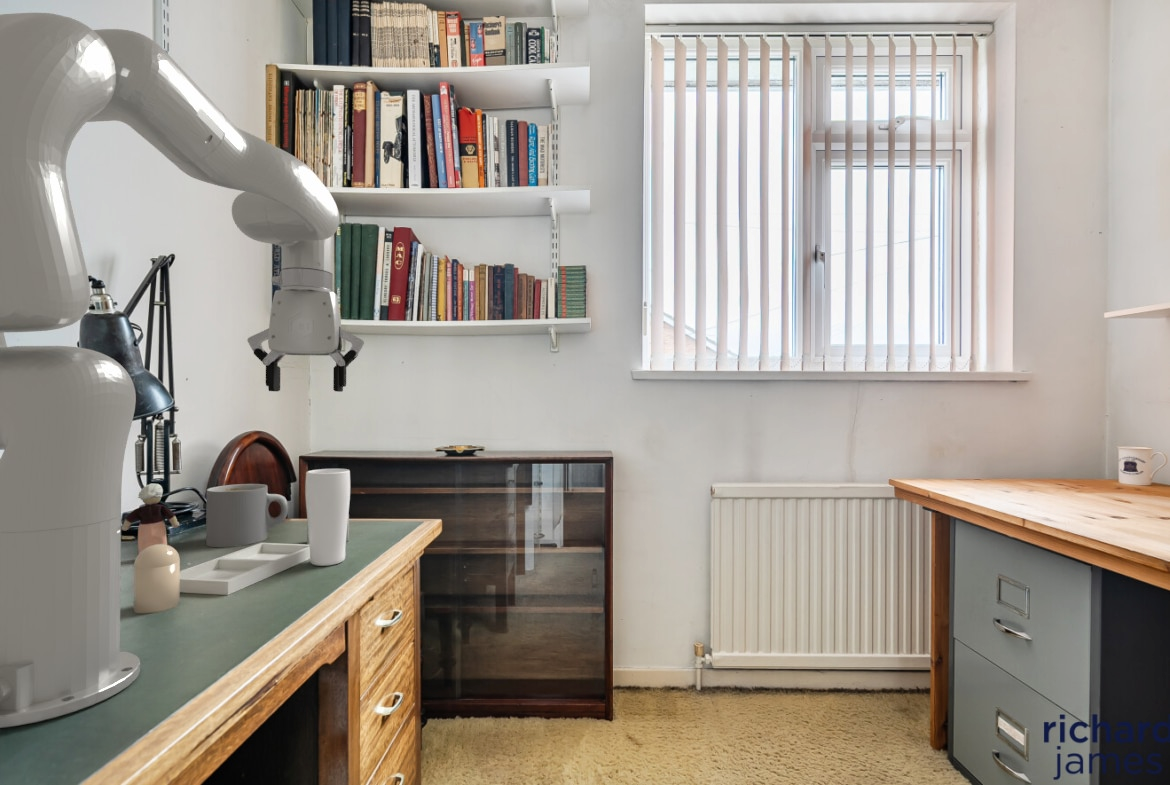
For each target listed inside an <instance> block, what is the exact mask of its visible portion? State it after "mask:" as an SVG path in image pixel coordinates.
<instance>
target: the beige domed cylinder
mask: <svg viewBox="0 0 1170 785" xmlns="http://www.w3.org/2000/svg"><path fill="white" fill-rule="evenodd" d="M180 558H181V557H180V554H179V552H178V550H177V549H175V548H174V547H173V546H171V545H169V544H167V545H165V544H156V545H152V546H149V547H147V548H145V549H144V550H143V551H141V552H140V553H139V552H138V555H136V558H135V560H134V563H133V612H134V613H136V614H153V613H158V612H164V611H167V610H170V609H174V608H177V606H179V605H180V603H181V602H180V597H181V596H180V593H181V592H180V571H181V559H180Z"/></svg>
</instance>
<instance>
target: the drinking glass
mask: <svg viewBox="0 0 1170 785" xmlns="http://www.w3.org/2000/svg"><path fill="white" fill-rule="evenodd" d="M304 484H305V487H304V488H305V491H304V493H305V494H304V495H305V508H306V520H307V521H308V533H309V544H308V545H310V559H309V563H310V564H312V565H313V566H317V567H323V566H324V567H327V566H329V567H330V566H335V565H337V564H340V563H342V562H344V561H345V559H346V546H347V545H346V544H347V542H346V535H347V524H348V514H349V512H350V501H351V471H350V469H347V468H321V469H320V468H319V469H312V470H308V471H306V472H305V483H304ZM349 515H350V514H349ZM307 521H306V522H307Z"/></svg>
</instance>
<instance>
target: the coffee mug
mask: <svg viewBox="0 0 1170 785" xmlns="http://www.w3.org/2000/svg"><path fill="white" fill-rule="evenodd" d="M268 488H269V487H268V485H267V484H263V483H262V484H261V483H240V484H239V483H238V484H228V485H225V484H224V485H219V486H213V487H209V488H207V489H206V501H205V502H206V515H205V519H206V520H205V521H206V524H205V525H206V528H205V530H206V531H205V532H206V533H205V534H206V535H205V544H206V546H208V547H213V548H214V547H215V548H232V547H240V546H241V547H242V546H249V545H255V544H259V543H262V542H263V541H266V540H267V539H268V533H269V531H270V529H271V528H273V527H275V526H278V525H280V524H282V523H283V522H284V521H285V520H286V518H287V515H288V513H289V512H288V511H289V503H288V500H287V499H286V497H285V496H283V495H281V494H277V493H268ZM272 502H277V503H278V504H279V506H280V513H279V514H278V516H276V517H273V516H271V515H270V512H269V508H270V504H272Z"/></svg>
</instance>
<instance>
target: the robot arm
mask: <svg viewBox="0 0 1170 785" xmlns="http://www.w3.org/2000/svg"><path fill="white" fill-rule="evenodd" d="M110 121H111V122H112V121H114V122H115V121H117V122H121V123H124V124H126V125H127V126H129V127H130V128H131V129H132V130H134V132H136V133H137V134H138V135H140V136H141V137H142V138H144V140H146V141H147V142H148V143H149V144H150V145H151V146H153V147H154V148H155V149H156V150H158V152H160V153H161V154H162V155H163V156H164V157H165V158H166V159H168V160H169V161H170V162H171V163H172V164H173V165H174V166H176V167H177V168H178V170H180V171H182V172H183V173H184V174H186V175H187V176H189V177H191V178H192V179H195V180H198V181H201V182H204V183H206V184H207V183H208V184H211V185H215V186H218V187H222V188H226V189H229V190H230V189H231V190H236V191H242V192H241V193H239V194H238V195H237V196H235V198H234V200H233V202H232V205H231V216H232V219H233V222H234V224H235V225H236V226H237V229H239V231H240V232H241V233H242V234H244V235H245V236H247V237H248V238H250V239H252V240H254V241H257V242H260V243H265V244H271V245H276V246H280V248H281V263H280V264H281V269H280V270H281V271H279V275H277V276H271V283H272V285H273V286H278V287H279V288H280V289H277V290H275V291H274V293H273V294H274V295H273V299H272V303H271V309H270V316H269V324H268V327H269V328H268V327H267V329H264V330H261V331H260V332H258V333H256V334H253V335H251V336H249V337H248V338H247V340H246V341H247V343H248V345H249V346H250V348H251V350H252V351H253V355H254V356H255V357H256V358H257V359H258V360H259V361H260V362H261V363H262V364H263V365H264V366H265V385H266V387H268V391H269V392H279V391H280V392H281V367H280V366H279V365H278V364H279V363H280V361H281V360H282V359H284V357H285V356H330V358H332V360H333V361H334V362H335V365H334V367H333V382H332V383H333V387H332V388H333V391H334V392H343V391H344V387H346V386H347V368H348V367H349V365H350V364H351V363H352V362H354V360H356V358H358V356H359V353H360V352H361V351H362V350H361V349H363V346H364V345H365V341H364V340H363V339H361V338H360V337H357V336H355V335H353V334H352V333H349V331H346V330H344V329H343V328H342V318H341V310H340V304H339V303H340V302H339V299H338V295H337V294H336V293H335V292H334V290H333V289H334V234H336V232H337V230H338V229H339V225H340V212H339V209H338V206H337V203H336V201H335V199H334V197H333V196H332V194H331V192H330V191H329V189H328V188H327V187H326V185H325V184H324V183H323V181H322V180H321V179H320V177H318V176H317V174H316V173H315V172H314V171H313V169H312V168H311V167H309V166H308V165H306V163H305V162H303V161H302V160H300V159H299V158H298V157H296V156H294V155H293V154H291V153H289V152H287V151H285V150H284V149H282V148H279V147H277V146H275V145H274V144H272V143H270V142H268V141H266V140H265V139H262V138H261V137H258V136H256V135H254V134H252V133H249V132H247V131H245V130H243V129H241V128H239V127H238V126H236V125H234V123H233V122H232V121H231V120H230V119H229V118H228V117H227V116H226V115H225V114H224V112H223V111H221V110H220V108H219V107H218V106H217V105H216V104H215V103H214V102H213V101H212V100H211V98H210V97H208V95H207V94H206V93H205V92H204V91H203V90H202V89H201V88H200V87H199V86H198V85H197V83H196V82H195V81H194V80H193V79H192V78H191V77H190V76H189V75H188V74H187V73H186V71H184V70H183V69H182V67H181V66H180V65H179V64H178V63H177V62H176V61H175V59H173V57H172V56H170V54H168V52H167V51H166V50H165V49H164V48H163V47H161V45H160V44H158V43H157V42H156V41H154V40H153V39H152V38H150V37H148V36H146V35H144V34H142V33H140V32H137V31H133V30H128V29H119V28H105V29H103V28H102V29H92V28H91V27H89V26H88V25H87V24H84V22H81V21H79V20H77V19H75V18H72V17H68V16H64V15H60V14H57V13H56V14H55V13H50V12H21V13H20V12H19V13H15V12H14V13H4V14H3V13H1V14H0V450H3V453H2V455H1V457H0V729H2V728H3V729H4V728H11V727H19V726H23V725H28V724H33V723H34V724H35V723H39V722H43V721H47V720H51V719H55V718H58V717H61V716H64V715H65V716H66V715H67V714H72V713H74V712H78V711H80V710H82V709H85V708H89V707H91V706H93V705H95V704H98V703H101V702H102V701H105V700H107V699H109V698H110V697H113V696H115V695H117V694H118V693H120V692H122V691H124V689H126V688H127V687H129V686H130V684H132V683H133V682H134V681H135V680H137V678H138V676H140V673H141V672H140V671H141V660H140V657H138V656H137V655H136V654H134V653H131V652H129V651H122V650H121V579H122V578H121V577H122V576H121V572H122V570H121V569H122V568H121V567H122V565H121V564H122V562H121V560H122V558H121V556H122V537H121V536H122V529H121V527H122V481H123V468H124V462H125V452H126V447H127V444H128V439H129V435H130V431H131V427H132V425H133V424H132V423H133V421H134V414H135V411H136V410H135V409H136V402H137V399H136V395H137V394H136V388H135V386H134V385H135V384H134V382H133V379H132V378H131V375H130V374H129V373H128V371H127V370H126V368H124V367H123V365H121V363H119V362H118V361H117V360H115V358H112V357H110V356H108V355H106V354H104V353H102V352H100V351H96V350H93V349H90V348H84V347H78V346H68V345H17V346H16V345H14V346H12V345H11V346H8V345H7V341H6V338H5V333H29V332H46V331H47V332H48V331H54V330H59V329H63V328H66V327H70V326H72V325H74V324H76V323H77V322H78V321H80V320H81V319H82V318H83V317H84V316H85V315H86V314H87V311H88V310H89V307H90V304H91V286H90V280H89V275H88V270H87V266H86V261H85V257H84V256H85V255H84V253H83V249H82V248H83V247H82V244H81V240H80V236H79V232H78V228H77V224H76V219H75V214H74V211H73V206H72V201H71V198H70V192H69V184H68V178H67V157H68V154H69V151H70V147H71V145H72V142H73V140H74V139H75V137H76V136H77V134H78V133H79V132H80V130H81V129H82V127H83V126H84V125H85V124H86V123H93V122H110ZM343 340H345V341H346V342H347V341H348V342H349V343H351V347H350V349H349V351H347V352H346V353H345V354H344V355H343V353H342V352H341V351H342V349H343ZM265 341H268V342H267V343H268V344H267V345H268V349H269V350H270V352H267V351H266V350H264V348H263V346H262V344H263V342H265Z"/></svg>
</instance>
